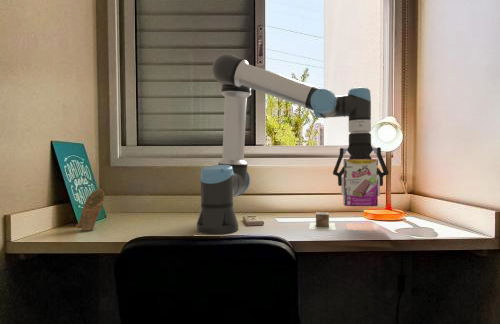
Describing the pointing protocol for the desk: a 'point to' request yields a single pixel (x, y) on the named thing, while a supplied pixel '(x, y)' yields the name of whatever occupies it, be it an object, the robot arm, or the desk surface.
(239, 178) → the robot arm
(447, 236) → the desk surface
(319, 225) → the walnut block
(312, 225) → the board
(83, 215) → the figurine
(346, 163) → the candy bar box
